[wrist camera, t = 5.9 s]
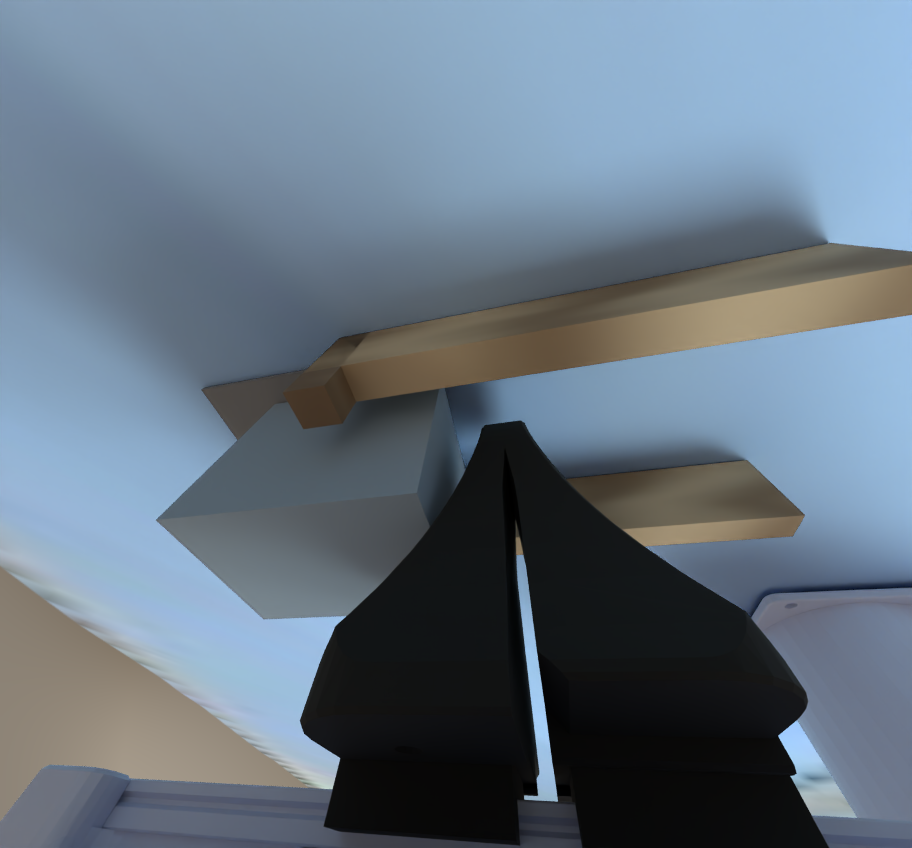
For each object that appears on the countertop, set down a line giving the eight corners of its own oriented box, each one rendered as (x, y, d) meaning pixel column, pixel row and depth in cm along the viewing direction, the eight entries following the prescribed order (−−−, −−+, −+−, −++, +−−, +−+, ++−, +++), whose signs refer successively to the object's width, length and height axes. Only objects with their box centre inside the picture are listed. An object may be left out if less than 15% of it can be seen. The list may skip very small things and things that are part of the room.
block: (441, 376, 10) (417, 492, 6) (467, 478, 13) (462, 610, 9) (274, 403, 11) (156, 519, 7) (328, 493, 14) (263, 619, 10)
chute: (830, 243, 8) (1038, 264, 5) (739, 479, 12) (820, 565, 9) (339, 337, 10) (282, 392, 7) (411, 511, 14) (394, 588, 11)
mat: (364, 359, 10) (362, 361, 10) (417, 497, 14) (416, 500, 14) (204, 387, 11) (201, 389, 11) (291, 510, 15) (290, 512, 15)
